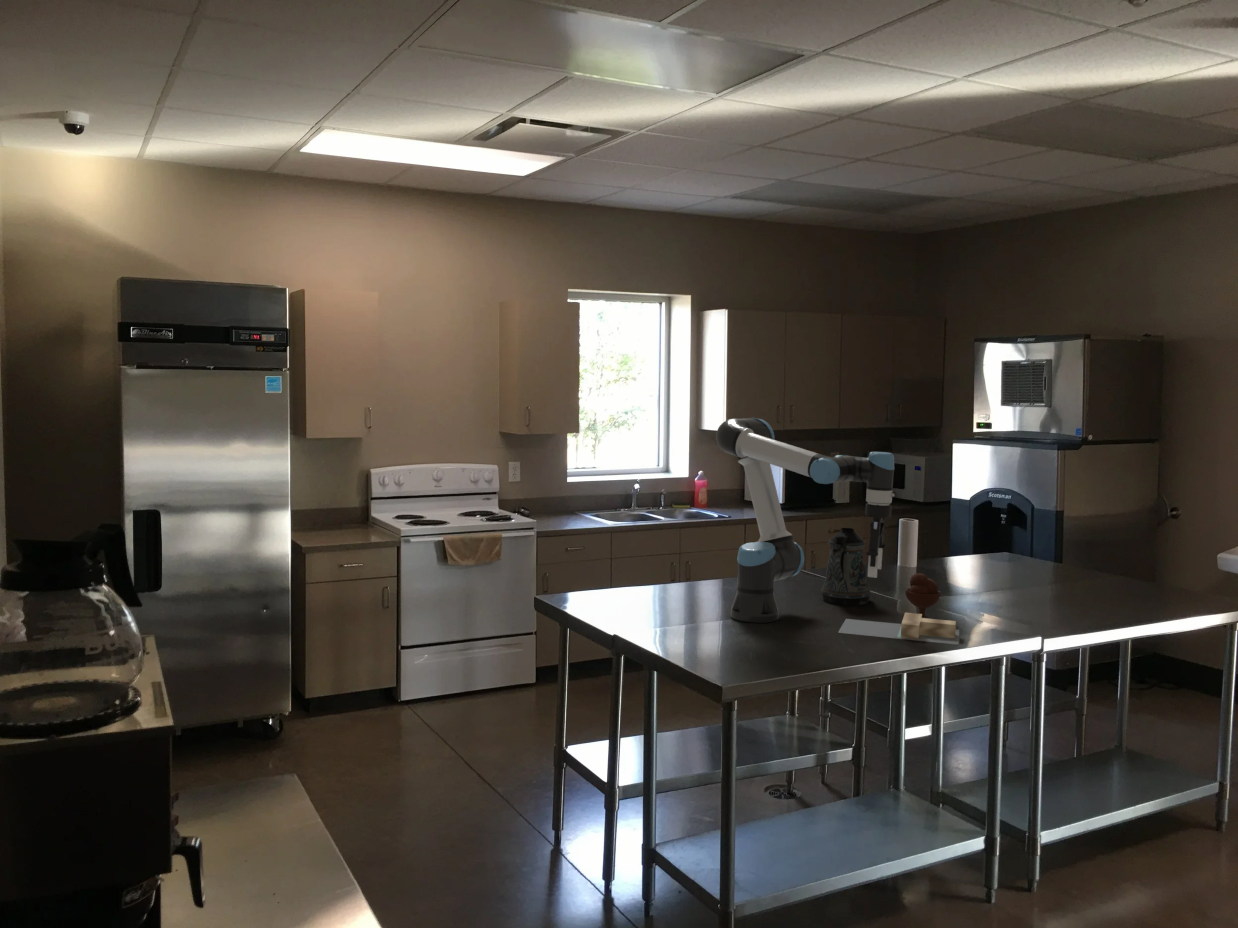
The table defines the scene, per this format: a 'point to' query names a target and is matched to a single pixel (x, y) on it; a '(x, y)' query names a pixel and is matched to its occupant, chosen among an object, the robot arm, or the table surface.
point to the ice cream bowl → (922, 592)
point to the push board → (888, 631)
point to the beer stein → (846, 570)
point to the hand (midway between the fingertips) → (874, 572)
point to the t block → (926, 627)
